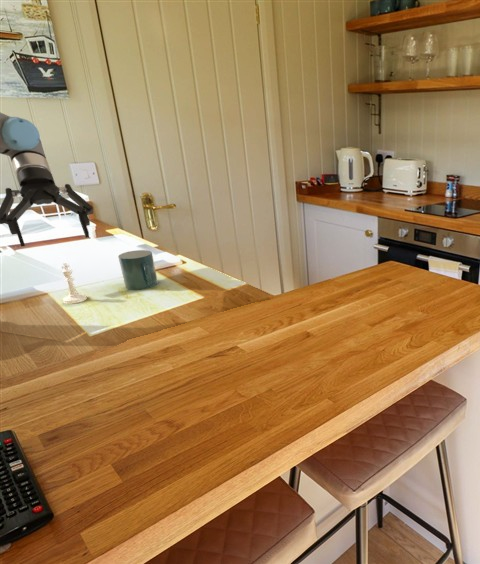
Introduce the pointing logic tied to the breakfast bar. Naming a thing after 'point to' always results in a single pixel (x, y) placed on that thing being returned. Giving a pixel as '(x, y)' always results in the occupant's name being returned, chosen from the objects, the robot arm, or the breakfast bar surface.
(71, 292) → the chess piece
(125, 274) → the cup
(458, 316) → the breakfast bar surface
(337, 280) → the breakfast bar surface
